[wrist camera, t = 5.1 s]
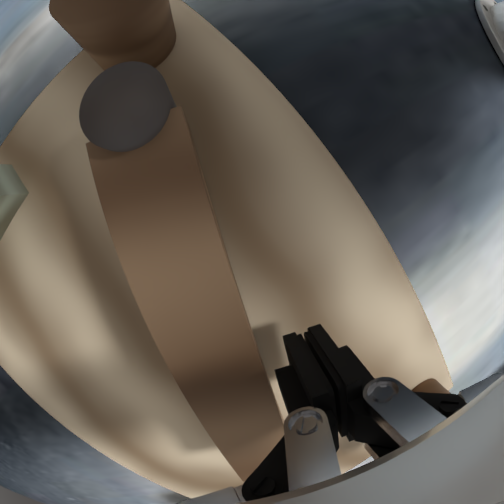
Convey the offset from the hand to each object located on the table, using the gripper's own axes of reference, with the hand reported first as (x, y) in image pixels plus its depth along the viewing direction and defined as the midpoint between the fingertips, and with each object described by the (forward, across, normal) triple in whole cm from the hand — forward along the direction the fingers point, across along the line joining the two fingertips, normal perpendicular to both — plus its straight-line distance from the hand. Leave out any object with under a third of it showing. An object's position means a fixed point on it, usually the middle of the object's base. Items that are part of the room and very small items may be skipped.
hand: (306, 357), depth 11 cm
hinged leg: (+1, +3, -3) cm, 5 cm away
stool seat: (+3, +5, +1) cm, 6 cm away
